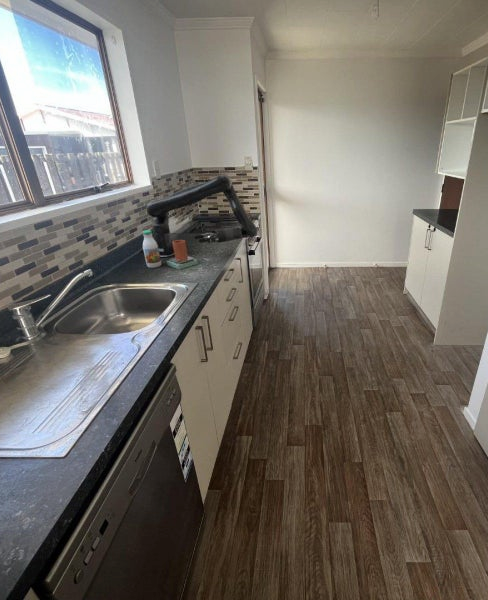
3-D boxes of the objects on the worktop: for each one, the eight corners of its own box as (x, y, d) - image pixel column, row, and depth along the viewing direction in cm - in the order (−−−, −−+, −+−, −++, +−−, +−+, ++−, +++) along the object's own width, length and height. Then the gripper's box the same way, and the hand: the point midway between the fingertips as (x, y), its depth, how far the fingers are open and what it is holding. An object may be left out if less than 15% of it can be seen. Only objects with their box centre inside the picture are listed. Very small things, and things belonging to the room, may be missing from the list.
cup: (173, 259, 186) (169, 241, 181) (183, 256, 190) (180, 239, 186) (179, 261, 182) (176, 243, 178) (190, 258, 186) (187, 241, 182)
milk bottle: (144, 267, 184) (135, 232, 176) (154, 263, 191) (147, 228, 182) (154, 268, 181) (146, 233, 173) (164, 264, 188) (157, 229, 179)
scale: (167, 265, 187) (166, 260, 185) (185, 259, 195) (185, 255, 194) (179, 269, 180) (178, 264, 179) (197, 263, 188) (197, 259, 187)
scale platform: (169, 260, 186) (168, 259, 185) (184, 256, 193) (184, 255, 192) (178, 263, 180) (178, 262, 180) (194, 259, 187) (194, 258, 187)
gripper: (219, 226, 198) (192, 230, 190) (227, 231, 187) (199, 235, 179) (221, 238, 201) (194, 242, 194) (229, 244, 190) (201, 248, 183)
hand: (197, 239), depth 187 cm, fingers open, 8 cm apart
